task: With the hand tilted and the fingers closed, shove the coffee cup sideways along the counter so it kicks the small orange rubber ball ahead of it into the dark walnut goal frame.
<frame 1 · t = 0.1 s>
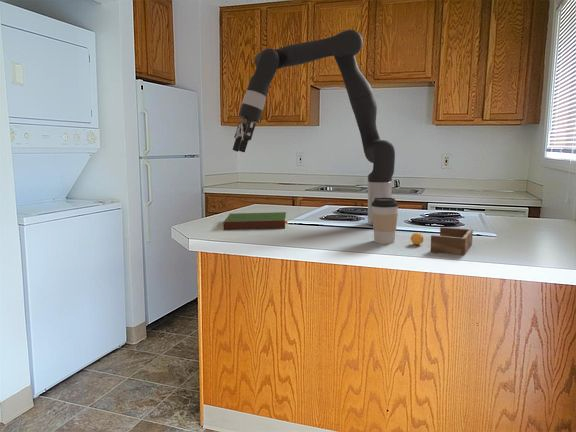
hand: (238, 151, 163), 31 cm above the countertop, tool tilted 20°, fingers open, 8 cm apart
coffee cup: (384, 242, 159), on the countertop
goal: (451, 247, 149), on the countertop
ball: (416, 244, 154), on the countertop
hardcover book: (257, 226, 194), on the countertop
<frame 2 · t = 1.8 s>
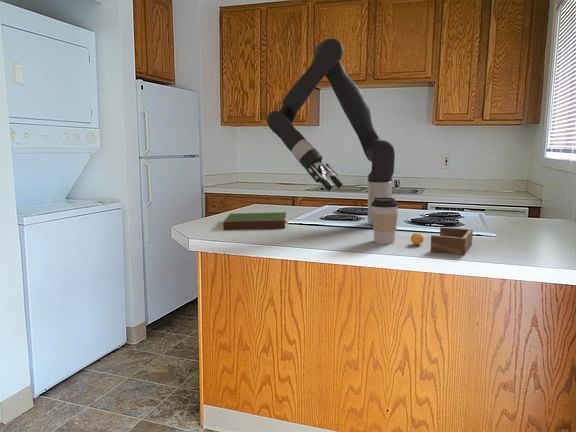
hand: (336, 187, 165), 18 cm above the countertop, tool tilted 45°, fingers open, 8 cm apart
nothing on the countertop moved.
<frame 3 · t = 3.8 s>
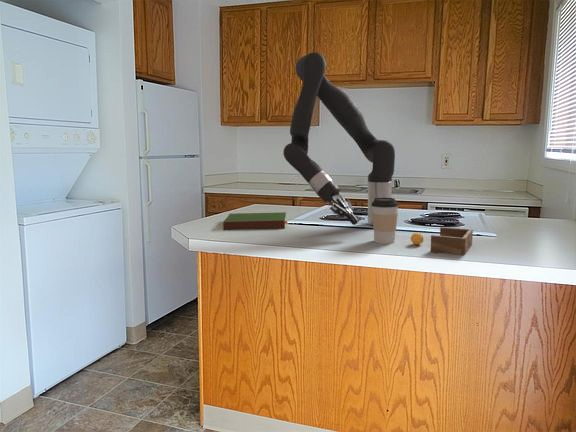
hand: (356, 223, 163), 6 cm above the countertop, tool tilted 45°, fingers closed
nothing on the countertop moved.
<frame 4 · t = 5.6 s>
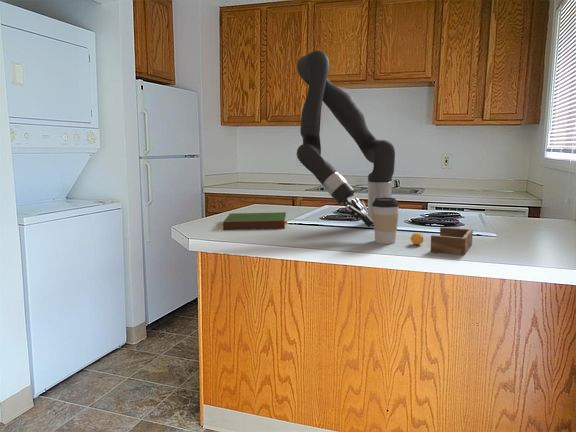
hand: (371, 225, 161), 5 cm above the countertop, tool tilted 45°, fingers closed
coffee cup: (385, 242, 159), on the countertop, touching gripper
everything else where it was.
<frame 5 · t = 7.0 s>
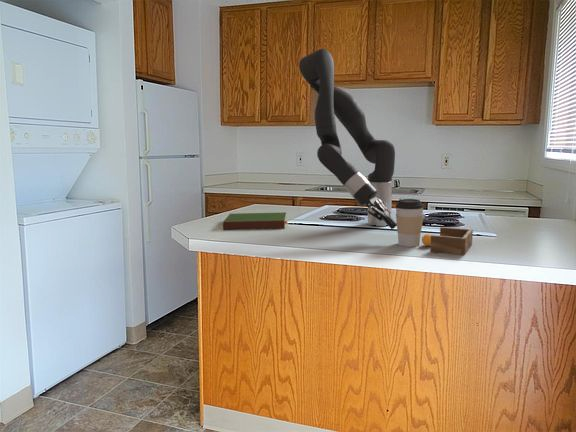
hand: (394, 227, 156), 5 cm above the countertop, tool tilted 45°, fingers closed
coffee cup: (408, 244, 155), on the countertop
ball: (422, 237, 152), point 3 cm above the countertop, tilted 108°
everything else where it was.
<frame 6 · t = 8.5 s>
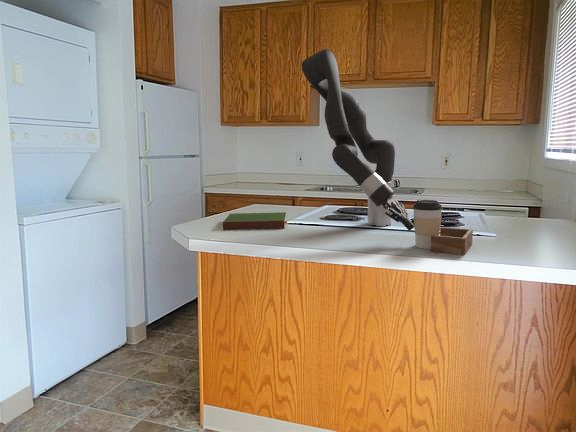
hand: (412, 228, 153), 5 cm above the countertop, tool tilted 45°, fingers closed
coffee cup: (426, 246, 152), on the countertop, touching gripper
ball: (455, 249, 146), on the countertop, tilted 14°
everything else where it was.
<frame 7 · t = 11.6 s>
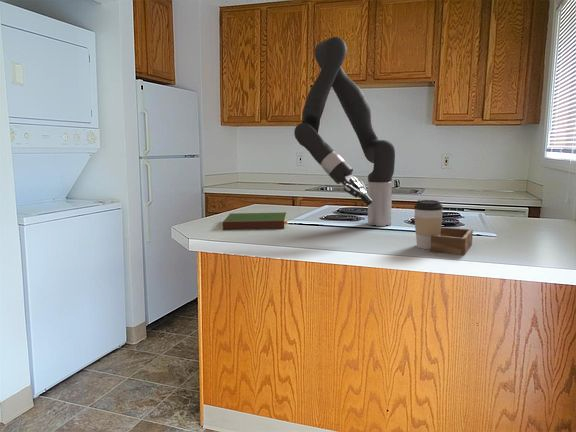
hand: (370, 203, 160), 13 cm above the countertop, tool tilted 45°, fingers closed
coffee cup: (427, 246, 152), on the countertop
ball: (454, 247, 146), point 1 cm above the countertop, tilted 48°
everything else where it was.
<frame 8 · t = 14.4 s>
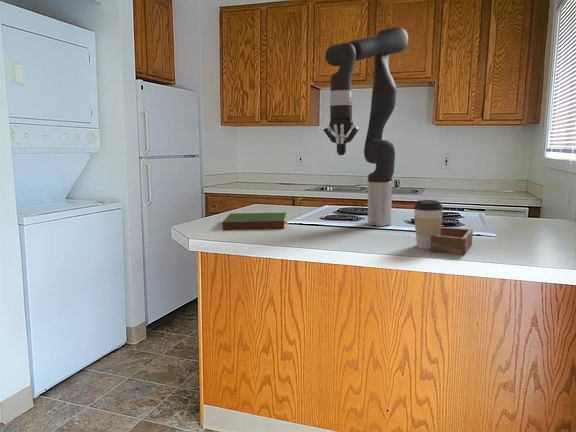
hand: (341, 154, 165), 29 cm above the countertop, tool pointing down, fingers closed
ball: (451, 243, 146), point 2 cm above the countertop, tilted 89°
everything else where it was.
at the end: ball inside the target area on the goal (2.1 cm from its centre), point 2.0 cm above the goal's base; coffee cup tilted 0°; coffee cup moved 14.6 cm from its start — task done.
